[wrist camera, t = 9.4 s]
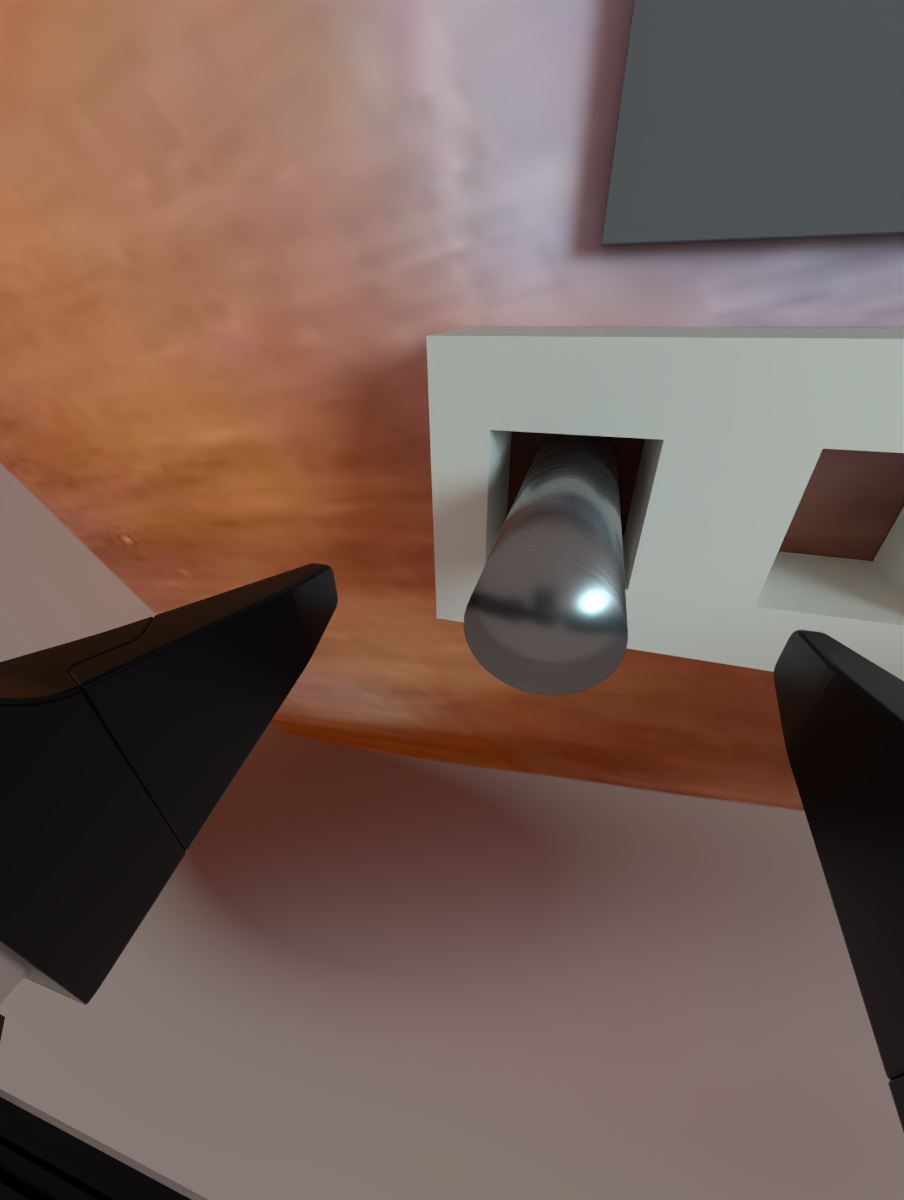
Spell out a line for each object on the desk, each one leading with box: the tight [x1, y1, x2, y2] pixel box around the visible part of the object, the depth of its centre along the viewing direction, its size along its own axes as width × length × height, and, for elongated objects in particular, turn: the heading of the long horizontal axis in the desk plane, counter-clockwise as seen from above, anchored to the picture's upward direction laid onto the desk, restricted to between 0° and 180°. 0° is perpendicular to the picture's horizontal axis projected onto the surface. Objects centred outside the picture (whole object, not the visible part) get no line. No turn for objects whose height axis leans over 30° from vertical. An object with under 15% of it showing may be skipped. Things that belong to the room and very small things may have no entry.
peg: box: [464, 434, 628, 695], centre depth 12 cm, size 3×3×10 cm
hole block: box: [426, 327, 904, 681], centre depth 14 cm, size 16×9×4 cm, turn 90°
